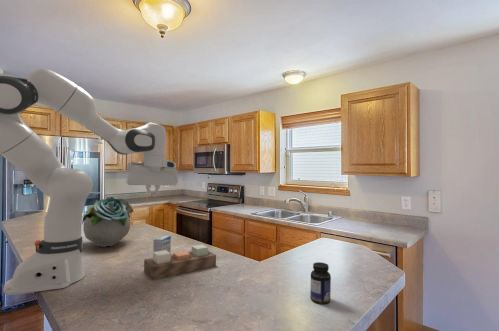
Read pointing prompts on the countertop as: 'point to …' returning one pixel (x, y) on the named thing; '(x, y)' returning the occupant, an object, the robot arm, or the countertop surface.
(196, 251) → the sage key
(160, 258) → the cream key
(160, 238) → the medicine box
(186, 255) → the terracotta key
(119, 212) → the flower arrangement
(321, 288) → the pill bottle
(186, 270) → the key panel
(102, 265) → the countertop surface
